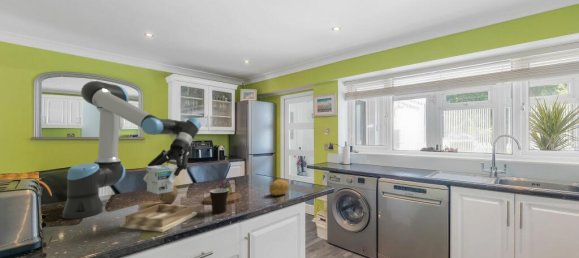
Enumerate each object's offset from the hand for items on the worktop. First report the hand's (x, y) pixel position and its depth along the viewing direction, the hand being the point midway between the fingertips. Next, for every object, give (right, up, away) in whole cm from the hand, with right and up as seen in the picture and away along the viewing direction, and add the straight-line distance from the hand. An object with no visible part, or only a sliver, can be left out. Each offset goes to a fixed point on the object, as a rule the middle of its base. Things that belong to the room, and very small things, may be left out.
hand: (157, 181), depth 108 cm
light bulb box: (0, -5, +1) cm, 5 cm away
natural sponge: (-9, -18, +29) cm, 35 cm away
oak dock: (0, -18, +2) cm, 18 cm away
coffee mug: (+23, -18, +16) cm, 33 cm away
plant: (+19, -19, +36) cm, 45 cm away
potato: (+50, -18, +45) cm, 70 cm away
